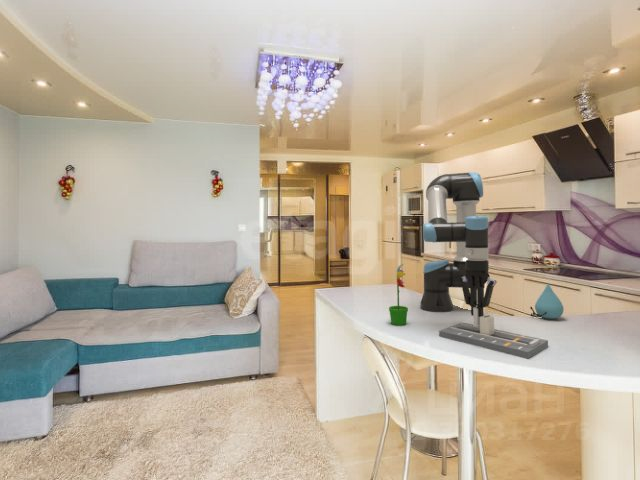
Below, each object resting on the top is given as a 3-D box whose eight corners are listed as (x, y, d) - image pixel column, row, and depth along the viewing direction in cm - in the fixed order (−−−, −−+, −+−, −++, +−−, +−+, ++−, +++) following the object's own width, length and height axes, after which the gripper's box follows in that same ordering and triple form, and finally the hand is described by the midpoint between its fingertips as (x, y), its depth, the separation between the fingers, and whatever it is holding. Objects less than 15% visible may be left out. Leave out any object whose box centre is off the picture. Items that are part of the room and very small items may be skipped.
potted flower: (408, 326, 141) (407, 265, 141) (389, 326, 143) (387, 265, 142) (407, 320, 151) (406, 262, 150) (389, 320, 152) (388, 262, 151)
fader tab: (485, 331, 125) (485, 314, 125) (494, 333, 123) (493, 315, 123) (480, 333, 123) (479, 316, 122) (488, 335, 120) (488, 317, 120)
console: (462, 327, 139) (462, 319, 138) (547, 346, 115) (547, 336, 115) (439, 336, 129) (439, 327, 128) (528, 358, 105) (528, 348, 105)
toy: (536, 312, 159) (536, 279, 158) (567, 316, 151) (567, 281, 150) (527, 319, 149) (527, 283, 148) (559, 323, 140) (559, 286, 140)
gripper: (454, 259, 127) (454, 323, 128) (489, 261, 117) (490, 331, 118) (465, 257, 132) (465, 320, 133) (500, 259, 122) (500, 327, 122)
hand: (477, 325), depth 125 cm, fingers closed
